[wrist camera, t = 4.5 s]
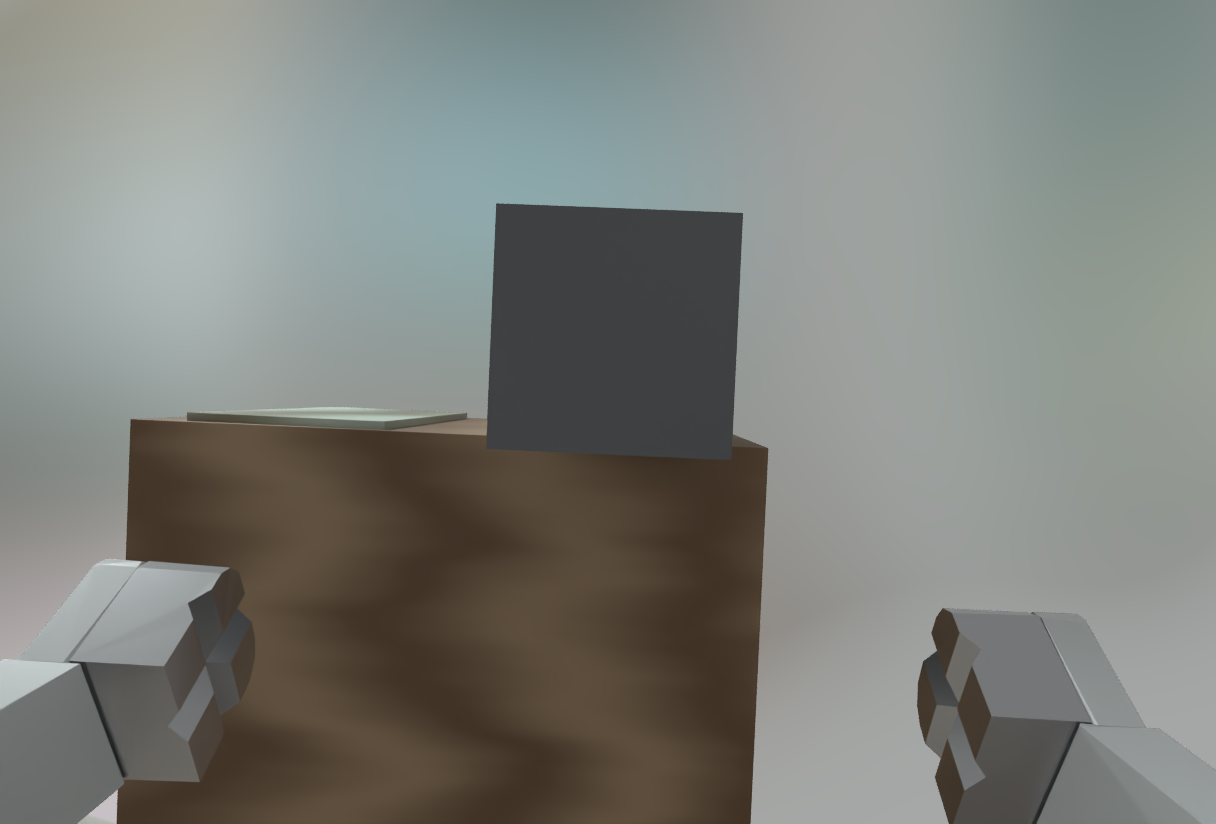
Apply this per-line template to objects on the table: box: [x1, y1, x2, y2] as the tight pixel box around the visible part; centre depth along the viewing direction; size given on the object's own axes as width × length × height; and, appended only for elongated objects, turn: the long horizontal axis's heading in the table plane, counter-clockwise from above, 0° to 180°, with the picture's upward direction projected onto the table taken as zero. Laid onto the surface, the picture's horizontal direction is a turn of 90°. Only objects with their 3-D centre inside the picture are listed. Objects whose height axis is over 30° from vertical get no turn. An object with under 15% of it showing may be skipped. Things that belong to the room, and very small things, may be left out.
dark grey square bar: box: [486, 204, 743, 460], centre depth 23 cm, size 5×18×5 cm, turn 178°
